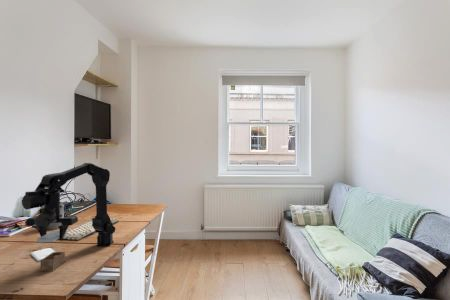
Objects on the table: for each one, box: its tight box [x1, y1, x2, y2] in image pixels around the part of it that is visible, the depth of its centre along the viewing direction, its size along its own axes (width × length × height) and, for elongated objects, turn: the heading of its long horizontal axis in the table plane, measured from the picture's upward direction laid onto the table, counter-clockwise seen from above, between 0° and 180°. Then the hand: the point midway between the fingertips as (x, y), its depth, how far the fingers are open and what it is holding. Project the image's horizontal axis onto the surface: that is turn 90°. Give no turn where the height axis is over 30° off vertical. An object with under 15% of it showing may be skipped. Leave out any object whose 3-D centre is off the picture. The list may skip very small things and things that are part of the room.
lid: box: [36, 230, 67, 243], centre depth 113 cm, size 7×10×1 cm, turn 3°
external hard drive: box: [30, 247, 56, 262], centre depth 125 cm, size 2×8×12 cm
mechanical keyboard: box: [56, 217, 120, 242], centre depth 163 cm, size 38×19×3 cm, turn 173°
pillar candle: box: [47, 203, 65, 231], centre depth 167 cm, size 10×10×15 cm
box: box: [40, 251, 66, 272], centre depth 114 cm, size 5×9×4 cm, turn 2°
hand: (52, 240), depth 113 cm, fingers closed on lid, 7 cm apart
